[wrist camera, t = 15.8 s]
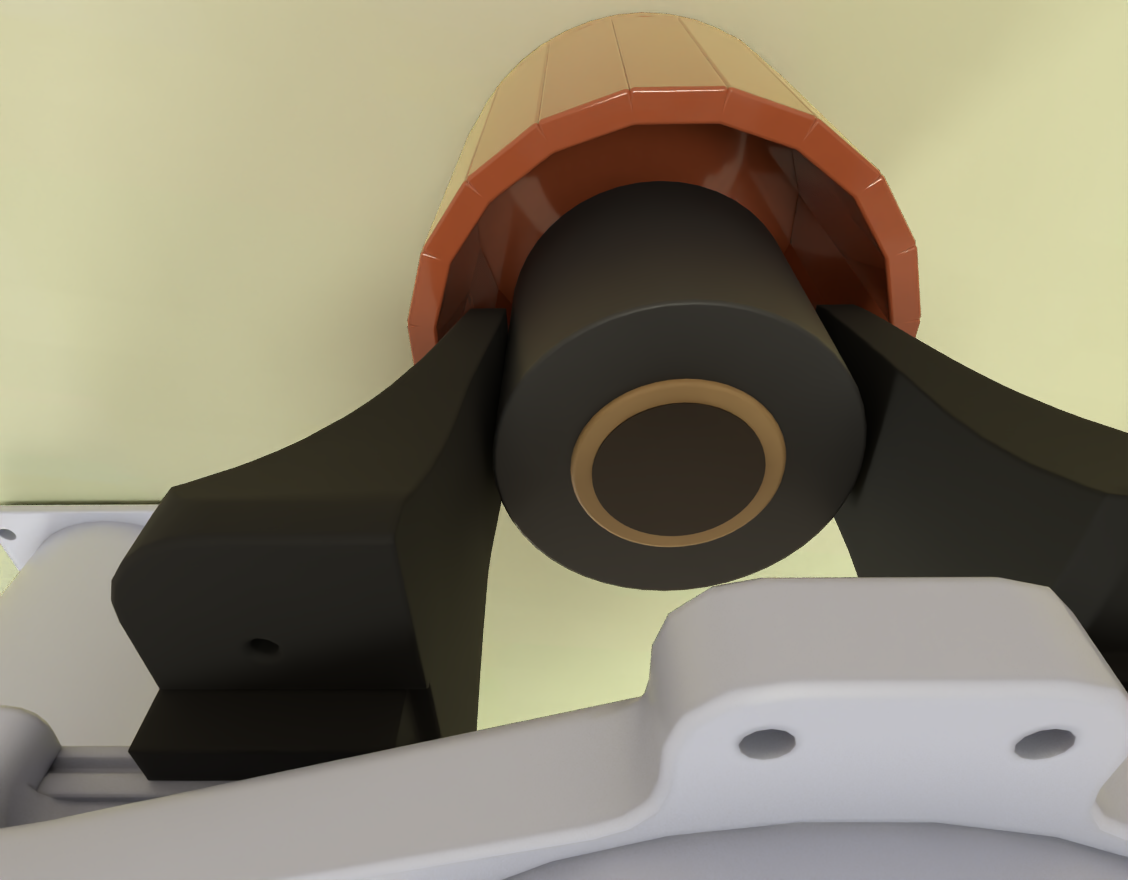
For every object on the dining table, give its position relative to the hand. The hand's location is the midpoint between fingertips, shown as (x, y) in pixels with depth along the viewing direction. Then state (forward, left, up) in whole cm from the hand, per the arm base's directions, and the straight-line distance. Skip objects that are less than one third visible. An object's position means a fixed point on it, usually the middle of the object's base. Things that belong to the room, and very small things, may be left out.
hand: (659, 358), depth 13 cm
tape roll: (0, 0, -1) cm, 1 cm away
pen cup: (0, 0, -7) cm, 7 cm away
